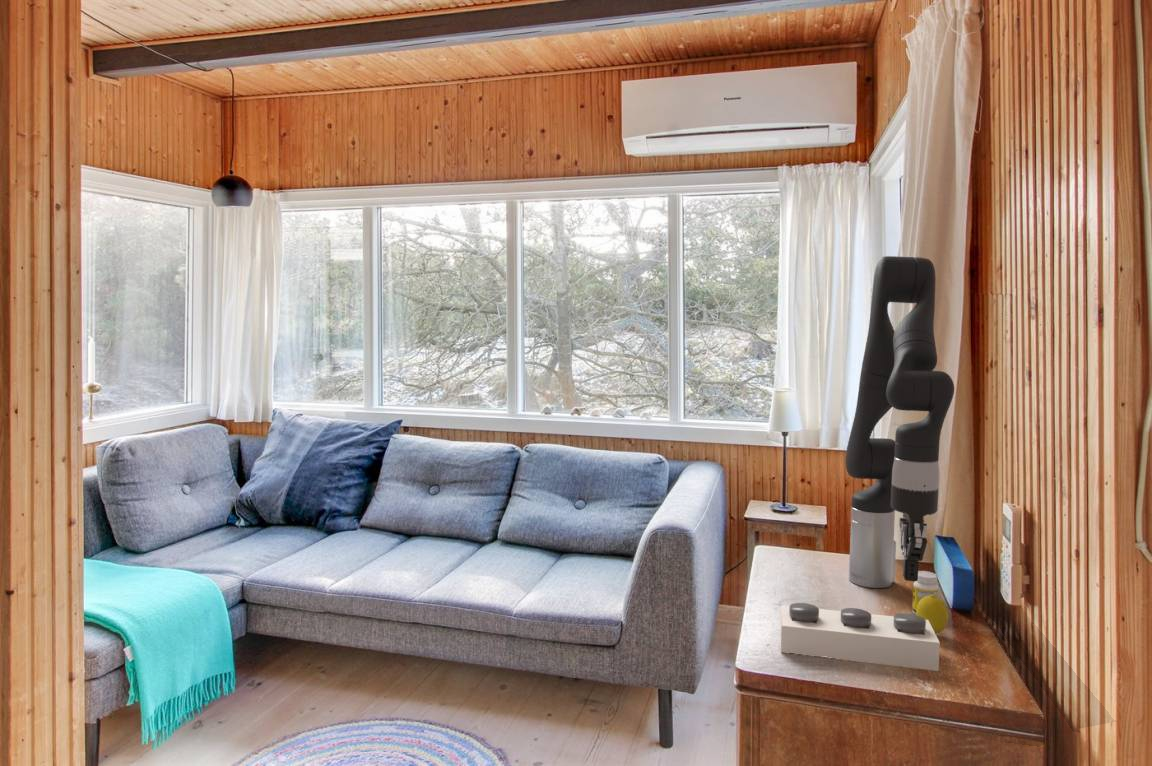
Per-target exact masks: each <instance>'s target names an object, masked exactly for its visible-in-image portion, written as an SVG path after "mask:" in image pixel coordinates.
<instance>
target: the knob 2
mask: <svg viewBox="0 0 1152 766" xmlns="http://www.w3.org/2000/svg"><path fill="white" fill-rule="evenodd" d="M893 616H894V627H895V628H897V629H898V632H903V633H912V634H920V633H923V632H925V629H926V621H925V619H923V618H922V617H920V616H917V615H915V614H914V613H906V612H903V613H895V614H893Z"/></svg>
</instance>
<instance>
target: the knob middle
mask: <svg viewBox="0 0 1152 766" xmlns="http://www.w3.org/2000/svg"><path fill="white" fill-rule="evenodd" d="M840 611H841V622H842V623H844V624H845V626H846V627H856V628H865V629H866V627H869V626H870V625H871V614H872V613H870V612H869V611H867V610H864V609H862V608H856V607H855V608H854V607H845V608H843V609H841V610H840Z"/></svg>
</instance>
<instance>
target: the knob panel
mask: <svg viewBox="0 0 1152 766" xmlns="http://www.w3.org/2000/svg"><path fill="white" fill-rule="evenodd" d="M789 609H790V605H787V604H785V605H784V604H782V605H781V606H780V610H781V611H780V653H781V652H785V653H784V654H789V653H795V654H794V655H797V654H804V655H803V656H806V655H814V656H827V657H832V658H838V659H837V660H840V659H844V660H843V661H848V660H851V661H850V662H857V661H859V663H866V662H867V663H868V664H874V663H875V664H876V665H884V666H891V667H900V666H901V668H908V669H909V668H910V669H917V670H918V669H919V670H925V671H926V670H927V671H935V672H940V670H939V668H940V653H941V652H940V649H941V643H940V640H939V639H938V636H937V633H936V634H935V632H934V630H933V628H932V626H931V624H930V623H929V621H928V620H925V621H926V629H925V632H923V633H920V634H912V633H903V632H898V629H897V628H895V627H894V615H883V614H872V613H870V614H871V625H870V626H869V627H866V629H865V628H856V627H846V626H845V624H844V623H842V622H841V610H833V609H825V608H824V609H823V608H818V609H819V619H818V620H817V621H814V623H808V622H799V621H794V619H793V618H791V617H790V615H789ZM814 656H813V657H814ZM875 664H874V665H875Z"/></svg>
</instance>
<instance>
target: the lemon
mask: <svg viewBox="0 0 1152 766" xmlns="http://www.w3.org/2000/svg"><path fill="white" fill-rule="evenodd" d="M916 615H917V616H920V617H922V618H923V619H925V620H928V621H929V623H930V624H931V626H932V628H933V630H934V632H935V634H936V635H937V634H940V633H942V632H943V631H944V630H945V629H946V627H947V625H948V624H949V623H948V622H949V612H948V608H947V605H946V604H945V602H944V600H942V599H941V598H940V597H939V596H938V597H936V596H935V595H930V596H926V597H924V598H922V599H921V600H920V601H919V603H918V605H917V609H916Z"/></svg>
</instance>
